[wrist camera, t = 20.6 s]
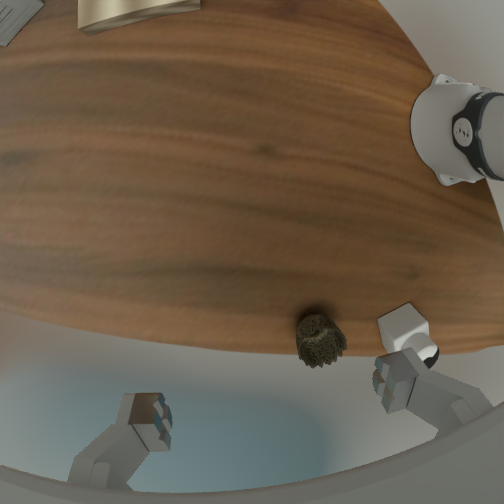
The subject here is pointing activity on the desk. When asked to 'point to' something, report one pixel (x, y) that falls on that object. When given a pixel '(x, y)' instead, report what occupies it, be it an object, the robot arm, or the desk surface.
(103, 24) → the square nut
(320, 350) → the cup
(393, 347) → the medicine bottle
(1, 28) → the supplement box
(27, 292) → the desk surface
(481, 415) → the robot arm
